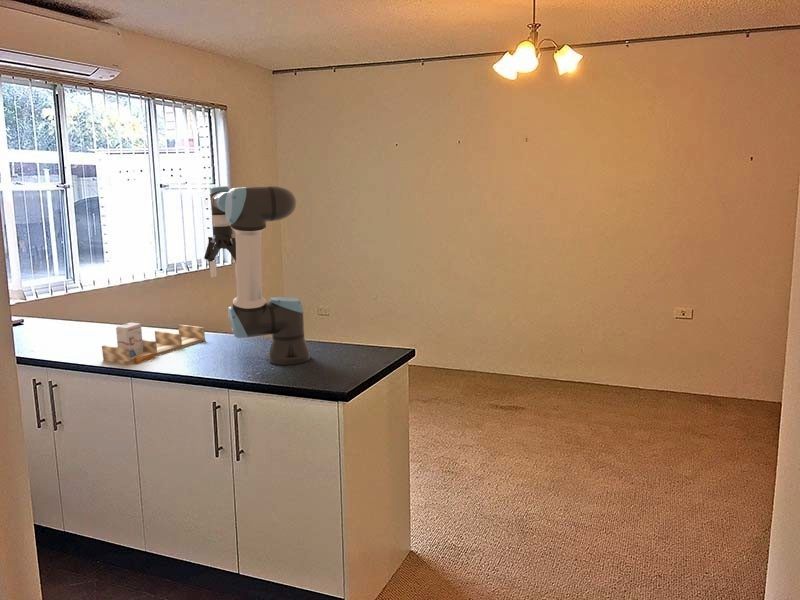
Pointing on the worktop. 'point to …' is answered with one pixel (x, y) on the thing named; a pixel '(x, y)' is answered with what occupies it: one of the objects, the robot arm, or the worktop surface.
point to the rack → (156, 345)
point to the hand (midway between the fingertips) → (226, 277)
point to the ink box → (130, 338)
